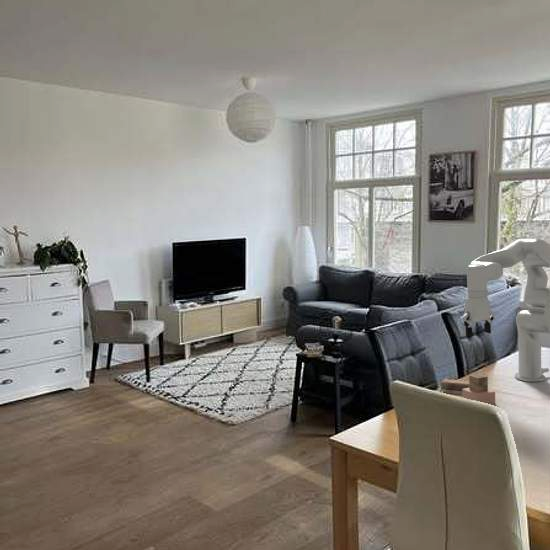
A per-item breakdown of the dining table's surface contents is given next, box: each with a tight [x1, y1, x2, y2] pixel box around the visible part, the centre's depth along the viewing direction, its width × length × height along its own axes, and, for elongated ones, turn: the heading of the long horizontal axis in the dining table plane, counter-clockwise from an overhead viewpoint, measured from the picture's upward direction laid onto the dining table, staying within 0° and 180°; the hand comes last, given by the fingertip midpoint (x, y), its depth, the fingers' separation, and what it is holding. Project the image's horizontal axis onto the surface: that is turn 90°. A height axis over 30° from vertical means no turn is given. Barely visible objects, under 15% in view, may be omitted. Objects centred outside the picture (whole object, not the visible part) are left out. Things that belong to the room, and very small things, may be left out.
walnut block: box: [468, 373, 489, 393], centre depth 224 cm, size 5×5×6 cm
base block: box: [461, 388, 496, 405], centre depth 224 cm, size 9×9×5 cm
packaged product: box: [439, 378, 469, 396], centre depth 239 cm, size 18×5×10 cm
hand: (478, 334), depth 230 cm, fingers open, 9 cm apart
